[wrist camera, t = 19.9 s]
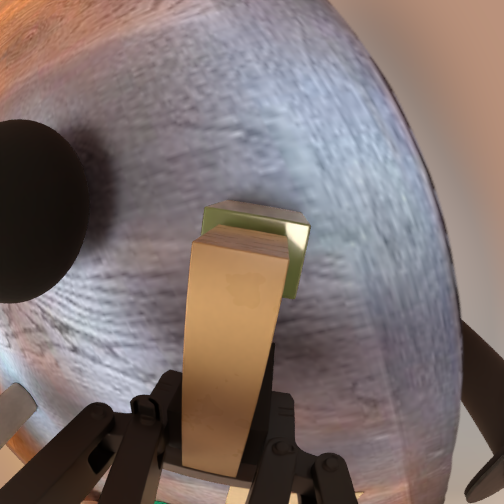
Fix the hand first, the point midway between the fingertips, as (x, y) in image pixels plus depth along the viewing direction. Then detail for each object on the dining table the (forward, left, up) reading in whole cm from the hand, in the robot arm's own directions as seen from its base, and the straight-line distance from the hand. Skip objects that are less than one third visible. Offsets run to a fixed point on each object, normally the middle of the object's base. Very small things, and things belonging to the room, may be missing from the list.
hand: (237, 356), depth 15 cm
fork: (0, +2, -1) cm, 2 cm away
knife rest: (0, -7, -1) cm, 7 cm away
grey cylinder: (+26, +18, -1) cm, 32 cm away
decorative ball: (+13, -7, -1) cm, 15 cm away
